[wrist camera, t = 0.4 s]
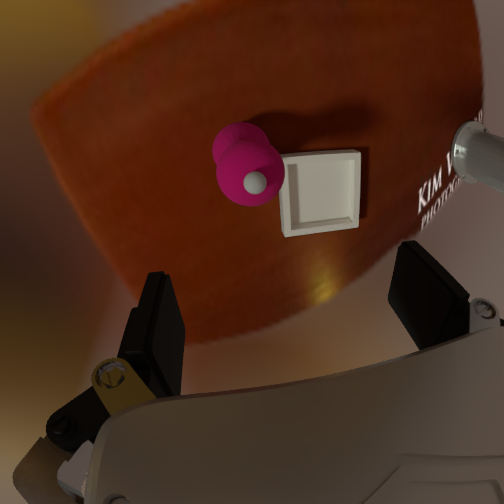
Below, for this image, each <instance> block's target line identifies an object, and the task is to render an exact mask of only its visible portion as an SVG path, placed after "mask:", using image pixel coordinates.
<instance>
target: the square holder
mask: <svg viewBox="0 0 504 504" xmlns="http://www.w3.org/2000/svg"><path fill="white" fill-rule="evenodd" d="M280 156H281V158H282V159H283V162H284V166H285V178H284V182H283V185H282V187H281V189H280V191H279V198H280V212H281V227H282V232H283V234H284V236H285V237H289V236H297V235H304V234H311V233H319V232H326V231H334V230H341V229H349V228H356V227H358V223H359V205H360V176H361V152H358V151H356V150H354V149H349V150H328V151H313V152H299V153H288V154H280Z"/></svg>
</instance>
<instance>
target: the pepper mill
mask: <svg viewBox="0 0 504 504" xmlns="http://www.w3.org/2000/svg"><path fill="white" fill-rule="evenodd" d="M212 151H213V157H214V161H215V163H216V165H217V171H216V174H217V180H218V184H219V186H220V188H221V190H222V192H223V193H224V194H225V195H226V196H227V197H228V198H229V199H230V200H232V201H233V202H235V203H237V204H240V205H245V206H257V205H261V204H264V203H266V202H268V201H270V200H271V199H272V198H274V197H275V196H276V195H277V193H278V192H279V191H280V189H281V187H282V185H283V182H284V178H285V166H284V162H283V159H282V158H281V156H280V154H279V153H278V151H277V150H276V149H275V148H274V147H273V146H271V145H270V142H269V140H268V138H267V136H266V134H265V133H264V132H263V131H262V130H261V129H260V128H259V127H258V126H256V125H254V124H251V123H247V122H236V123H232V124H230V125H228V126H226V127H224V128H223V129H222V130H221V131H220V132H219V133H218V134H217V136H216V138H215V140H214V143H213V150H212Z"/></svg>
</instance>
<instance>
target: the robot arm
mask: <svg viewBox="0 0 504 504" xmlns="http://www.w3.org/2000/svg"><path fill="white" fill-rule="evenodd" d="M451 154H452V164H453V168H454V170H455V173H456V174H457V176H458V177H459V178H460V179H461V180H462V181H464V182H466V183H469V184H474V183H477V182H478V181H481V182H483V183H485V184H486V185H488V186H490V187H492V188H494V189H496V190H497V191H499V192H501V193H503V194H504V138H502V137H499V136H496V135H493V134H490V133H489V131H488V130H487V128H486V127H485V126H484V125H483V124H482V123H480V122H477V121H473V120H471V121H467V122H465V123H464V124H462V125H461V126H460V128H459V129H458V130H457V132H456V134H455V137H454V140H453V144H452V152H451ZM469 296H470V294H469V293H468V292H467V291H466V290H465V289H464V288H463V287H462V286H461V285H460V284H459V283H458V282H457V281H456V280H455V279H454V278H453V276H452V275H451V274H450V273H449V272H447V270H446V269H445V268H444V267H443V266H442V265H441V264H440V263H439V262H438V261H437V260H435V258H433V257H432V256H431V255H430V254H429V253H428V252H427V251H426V250H425V249H424V248H423V247H422V246H421V245H420V244H419V243H418V242H417V241H415V240H412V241H404V242H402V243H401V245H400V246H399V247H398V251H397V256H396V261H395V266H394V272H393V276H392V280H391V285H390V289H389V294H388V302H389V304H390V305H391V307H392V308H393V310H394V311H395V313H396V314H397V316H398V317H399V319H400V321H401V322H402V324H403V325H404V327H405V328H406V330H407V331H408V333H409V334H410V336H411V337H412V339H413V341H414V342H415V344H416V345H417V347H418V349H419V350H420V351H417V352H414V353H410V354H408V355H404V356H400V357H397V358H394V359H390V360H387V361H383V362H379V363H376V364H372V365H368V366H364V367H360V368H356V369H352V370H348V371H344V372H339V373H334V374H330V375H325V376H320V377H315V378H310V379H304V380H299V381H293V382H288V383H281V384H275V385H268V386H261V387H253V388H246V389H237V390H228V391H219V392H209V393H197V394H189V395H180V393H181V379H182V366H183V353H184V342H185V326H184V323H183V320H182V316H181V313H180V310H179V306H178V303H177V300H176V296H175V293H174V289H173V286H172V282H171V278H170V276H169V274H167V275H165V273H164V272H163V271H160V272H151V273H149V274H148V276H147V279H146V282H145V285H144V288H143V291H142V294H141V297H140V301H139V304H138V307H135V308H132V310H131V312H130V316H129V319H128V322H127V325H126V328H125V331H124V335H123V338H122V341H121V345H120V348H119V352H118V355H117V358H110V359H106V360H104V361H102V362H101V363H99V364H98V365H97V366H96V367H95V368H94V370H93V372H92V375H91V382H92V385H93V386H91V387H90V388H89V389H87V390H86V391H84V392H83V393H82V394H80V395H79V396H77V397H76V398H74V399H73V400H71V401H70V402H69V403H67V404H66V405H64V406H63V407H62V408H60V409H59V410H57V411H56V412H54V413H53V414H52V415H51V416H50V418H49V420H48V421H47V425H46V433H47V435H46V436H45V438H44V439H43V438H42V437H40V438H39V439H38V440H37V442H36V443H35V444H34V445H33V447H32V448H31V449H30V450H29V452H28V453H27V454H26V455H25V457H24V458H23V459H22V460H21V462H20V463H19V464H18V465H17V467H16V468H15V470H14V472H13V483H14V486H15V487H16V489H17V490H18V492H19V493H20V494H21V495H22V497H23V498H24V499H25V500H26V501H27V502H28V504H504V320H503V319H500V318H499V311H498V309H497V307H496V306H495V305H494V304H493V303H492V302H490V301H489V300H486V299H483V298H475V299H473V300H472V301H471V303H469V302H468V299H469ZM87 471H88V472H87ZM86 472H87V474H86ZM86 477H87V479H86ZM85 479H86V486H85V495H84V498H83V496H82V493H81V486H82V484H83V482H84V480H85ZM126 498H127V499H126Z"/></svg>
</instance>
